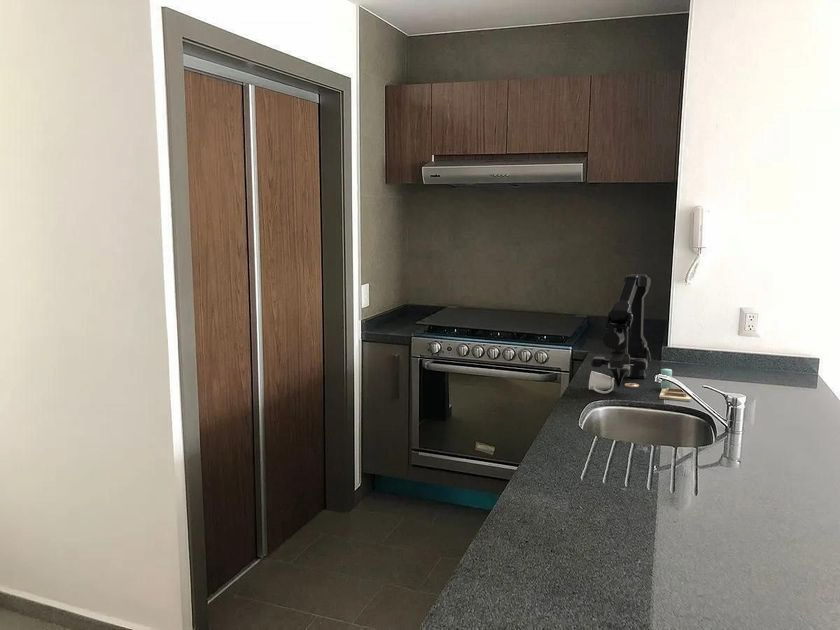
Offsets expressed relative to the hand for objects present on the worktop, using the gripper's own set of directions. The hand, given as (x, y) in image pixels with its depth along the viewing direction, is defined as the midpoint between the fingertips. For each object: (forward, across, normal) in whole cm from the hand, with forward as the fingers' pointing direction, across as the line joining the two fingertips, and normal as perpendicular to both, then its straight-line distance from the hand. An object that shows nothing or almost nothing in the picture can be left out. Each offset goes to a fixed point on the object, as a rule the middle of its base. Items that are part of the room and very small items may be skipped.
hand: (618, 386), depth 251 cm
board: (+2, +19, 0) cm, 19 cm away
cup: (0, -2, 0) cm, 2 cm away
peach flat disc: (+2, +3, +10) cm, 10 cm away
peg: (+2, +15, +9) cm, 18 cm away
